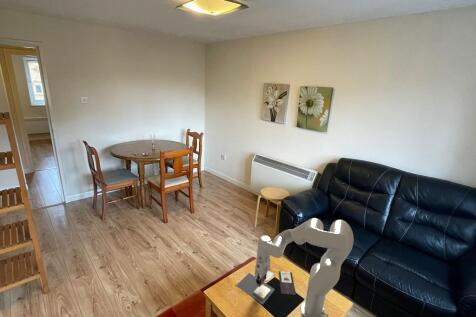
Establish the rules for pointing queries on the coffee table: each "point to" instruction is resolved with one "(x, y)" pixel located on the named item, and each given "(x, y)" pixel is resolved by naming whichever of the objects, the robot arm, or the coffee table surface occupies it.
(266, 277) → the pad
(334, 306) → the coffee table surface
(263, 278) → the flat brown wooden slab
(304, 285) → the coffee table surface
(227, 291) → the coffee table surface
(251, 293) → the mat
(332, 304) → the coffee table surface
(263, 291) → the tile
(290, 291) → the chocolate bar
